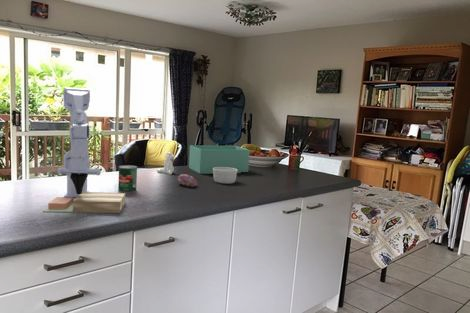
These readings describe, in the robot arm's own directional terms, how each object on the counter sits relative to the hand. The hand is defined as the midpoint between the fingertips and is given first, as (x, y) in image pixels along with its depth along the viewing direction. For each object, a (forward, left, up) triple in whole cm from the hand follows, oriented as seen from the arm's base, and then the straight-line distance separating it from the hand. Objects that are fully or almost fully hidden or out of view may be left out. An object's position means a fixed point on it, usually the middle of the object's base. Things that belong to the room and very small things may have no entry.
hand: (79, 193), depth 143 cm
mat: (0, -5, -5) cm, 7 cm away
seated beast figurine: (-77, +30, -5) cm, 83 cm away
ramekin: (-56, +61, -5) cm, 83 cm away
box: (-92, +61, -6) cm, 111 cm away
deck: (0, +8, -5) cm, 9 cm away
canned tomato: (-28, +14, -5) cm, 32 cm away
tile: (0, -6, -3) cm, 7 cm away
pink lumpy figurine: (-43, +41, -5) cm, 60 cm away
